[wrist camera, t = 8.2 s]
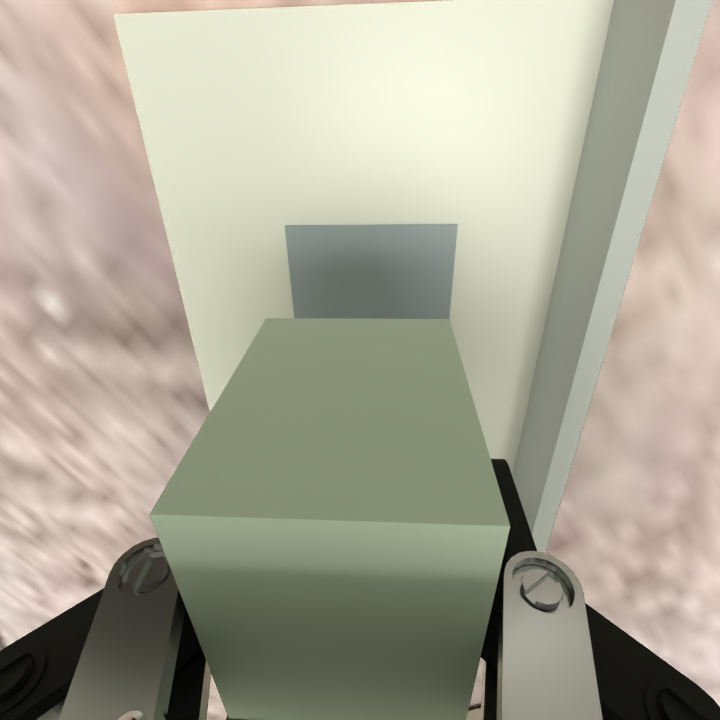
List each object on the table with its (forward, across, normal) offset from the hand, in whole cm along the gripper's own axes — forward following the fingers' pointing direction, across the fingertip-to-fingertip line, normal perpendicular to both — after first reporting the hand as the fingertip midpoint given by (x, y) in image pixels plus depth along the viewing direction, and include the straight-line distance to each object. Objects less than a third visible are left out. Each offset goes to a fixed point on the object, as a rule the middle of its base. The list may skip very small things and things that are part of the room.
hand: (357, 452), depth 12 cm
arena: (+8, 0, 0) cm, 8 cm away
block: (+1, 0, 0) cm, 1 cm away
